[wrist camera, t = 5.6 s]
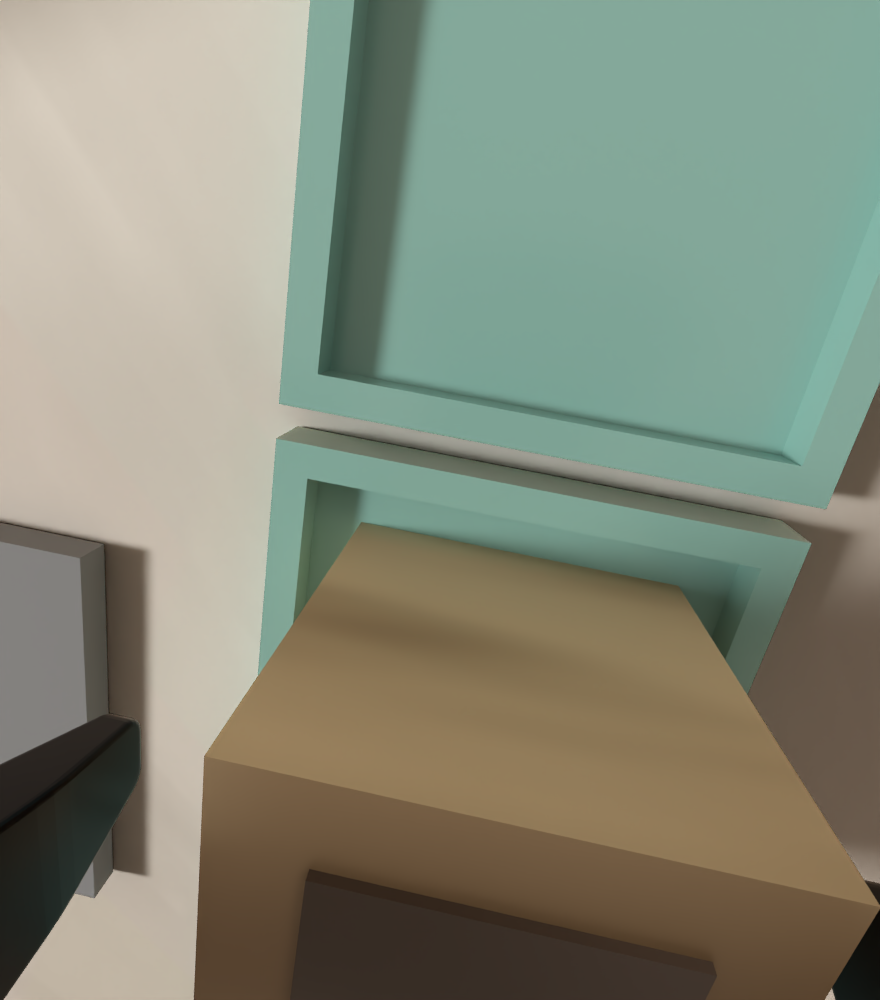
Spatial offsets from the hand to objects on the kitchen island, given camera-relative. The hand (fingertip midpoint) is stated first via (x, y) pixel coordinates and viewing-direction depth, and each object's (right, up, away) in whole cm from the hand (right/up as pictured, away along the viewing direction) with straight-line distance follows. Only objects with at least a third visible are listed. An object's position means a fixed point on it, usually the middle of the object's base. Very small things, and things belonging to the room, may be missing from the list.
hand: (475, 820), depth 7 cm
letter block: (0, +1, +3) cm, 3 cm away
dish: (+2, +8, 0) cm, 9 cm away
